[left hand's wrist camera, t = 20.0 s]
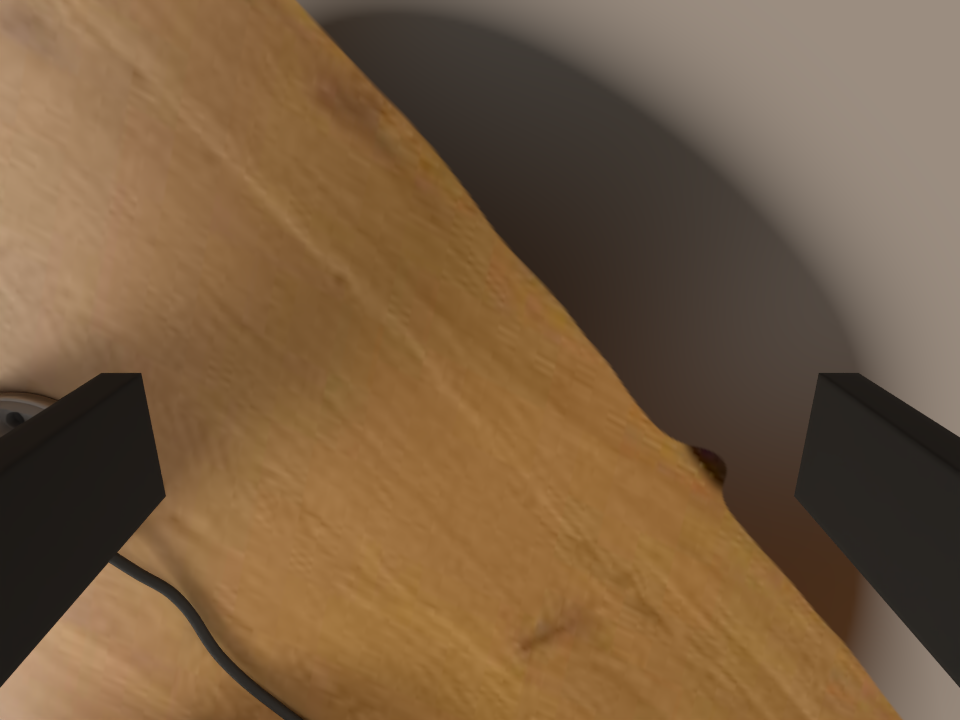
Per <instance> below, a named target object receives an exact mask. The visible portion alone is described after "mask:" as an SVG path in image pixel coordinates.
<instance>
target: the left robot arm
mask: <svg viewBox="0 0 960 720" xmlns="http://www.w3.org/2000/svg"><path fill="white" fill-rule="evenodd" d="M165 496H166V495H165V490H164V485H163V480H162V475H161V470H160V465H159V460H158V455H157V450H156V445H155V440H154V435H153V430H152V425H151V420H150V415H149V410H148V405H147V400H146V395H145V390H144V385H143V380H142V375H141V373H101V374H99V375H98V376H96V377H95V378H93V379H91V380H90V381H88V382H87V383H85V384H84V385H82V386H80V387H79V388H77V389H76V390H74V391H73V392H71V393H69V394H68V395H66V396H65V397H63V398H61V399H60V400H58V401H57V400H54V399H51V398H48V397H44V396H40V395H36V394H30V393H21V392H5V393H0V687H1V686H2V685H3V684H4V683H5V681H6V680H7V679H8V678H9V677H10V676H11V675H12V673H13V672H14V671H15V670H16V669H17V668H18V666H19V665H20V664H21V663H22V662H23V661H24V659H25V658H26V657H27V656H28V655H29V654H30V653H31V651H32V650H33V649H34V648H35V647H36V646H37V644H38V643H39V642H40V641H41V640H42V639H43V638H44V636H45V635H46V634H47V633H48V632H49V631H50V629H51V628H52V627H53V626H54V625H55V624H56V622H57V621H58V620H59V619H60V618H61V617H62V616H63V614H64V613H65V612H66V611H67V610H68V609H69V607H70V606H71V605H72V604H73V603H74V602H75V601H76V599H77V598H78V597H79V596H80V595H81V594H82V592H83V591H84V590H85V589H86V588H87V587H88V585H89V584H90V583H91V582H92V581H93V580H94V579H95V577H96V576H97V575H98V574H99V573H100V572H101V570H102V569H103V568H104V567H105V566H106V565H107V564H108V562H109V563H111V564H112V565H114V566H115V567H117V568H119V569H120V570H122V571H123V572H125V573H126V574H128V575H130V576H131V577H133V578H135V579H136V580H138V581H140V582H142V583H143V584H145V585H147V586H149V587H151V588H153V589H155V590H157V591H158V592H160V593H162V594H163V595H164V596H166V597H167V598H168V599H169V600H171V601H172V602H173V603H174V604H175V605H176V606H177V607H178V608H179V609H180V611H181V612H182V613H183V614H184V615H185V617H186V618H187V619H188V621H189V622H190V624H191V625H192V627H193V628H194V630H195V632H196V633H197V635H198V637H199V638H200V640H201V641H202V643H203V644H204V646H205V647H206V649H207V650H208V651H209V653H210V654H211V655H212V657H213V658H214V659H215V660H216V661H217V663H218V664H219V665H220V666H221V667H222V668H223V669H224V670H225V671H226V672H227V673H228V674H229V675H230V676H231V677H232V678H233V679H234V680H235V681H237V682H238V683H239V684H240V685H241V686H242V687H243V688H244V689H246V690H247V691H248V692H249V693H250V694H252V695H253V696H254V697H255V698H257V699H258V700H259V701H261V702H262V703H263V704H265V705H266V706H267V707H268V708H270V709H271V710H272V711H274V712H275V713H276V714H278V715H279V716H280V717H282V718H283V719H284V720H303V719H302V718H300V717H299V716H298V715H296V714H295V713H294V712H292V711H291V710H290V709H288V708H287V707H286V706H285V705H283V704H282V703H281V702H279V701H278V700H277V699H275V698H274V697H273V696H272V695H270V694H269V693H268V692H266V691H265V690H264V689H263V688H261V687H260V686H259V685H258V684H256V683H255V682H254V681H253V680H252V679H250V678H249V677H248V676H247V675H246V674H245V673H244V672H243V671H242V670H241V669H239V668H238V667H237V666H236V665H235V664H234V663H233V662H232V661H231V660H230V659H229V657H228V656H227V655H226V654H225V653H224V652H223V651H222V650H221V648H220V647H219V646H218V644H217V643H216V642H215V640H214V639H213V637H212V635H211V634H210V632H209V631H208V629H207V627H206V626H205V624H204V622H203V621H202V619H201V618H200V616H199V615H198V613H197V612H196V610H195V609H194V608H193V607H192V605H191V604H190V603H189V602H188V601H187V600H186V598H185V597H184V596H183V595H182V594H181V593H180V592H179V591H177V590H176V589H175V588H174V587H173V586H171V585H170V584H168V583H167V582H165V581H163V580H162V579H160V578H158V577H156V576H154V575H152V574H151V573H149V572H147V571H145V570H143V569H142V568H140V567H139V566H137V565H135V564H134V563H132V562H131V561H129V560H128V559H126V558H125V557H123V556H121V555H120V554H118V553H117V552H118V551H119V550H120V548H121V547H122V546H123V545H124V544H125V543H126V542H127V540H128V539H129V538H130V537H131V536H132V535H133V533H134V532H135V531H136V530H137V529H138V528H139V527H140V525H141V524H142V523H143V522H144V521H145V520H146V518H147V517H148V516H149V515H150V514H151V513H152V511H153V510H154V509H155V508H156V507H157V506H158V505H159V503H160V502H161V501H162V500H163V499H164V498H165ZM794 496H795V498H796V499H797V500H798V501H799V502H800V503H801V504H802V506H803V507H804V508H805V509H806V510H807V511H808V513H809V514H810V515H811V516H812V517H813V518H814V519H815V521H816V522H817V523H818V524H819V525H820V527H821V528H822V529H823V530H824V531H825V532H826V533H827V534H828V536H829V537H830V538H831V539H832V540H833V542H834V543H835V544H836V545H837V546H838V547H839V548H840V550H841V551H842V552H843V553H844V554H845V555H846V557H847V558H848V559H849V560H850V561H851V562H852V563H853V565H854V566H855V567H856V568H857V569H858V570H859V572H860V573H861V574H862V575H863V576H864V577H865V579H866V580H867V581H868V582H869V583H870V584H871V585H872V587H873V588H874V589H875V590H876V591H877V592H878V593H879V595H880V596H881V597H882V598H883V599H884V601H885V602H886V603H887V604H888V605H889V606H890V607H891V609H892V610H893V611H894V612H895V613H896V614H897V615H898V617H899V618H900V619H901V620H902V621H903V622H904V624H905V625H906V626H907V627H908V628H909V629H910V631H911V632H912V633H913V634H914V635H915V636H916V637H917V639H918V640H919V641H920V642H921V643H922V644H923V646H924V647H925V648H926V649H927V650H928V651H929V652H930V654H931V655H932V656H933V657H934V658H935V659H936V661H937V662H938V663H939V664H940V665H941V666H942V668H943V669H944V670H945V671H946V672H947V673H948V674H949V676H950V677H951V678H952V679H953V680H954V681H955V683H956V684H957V685H958V686H959V687H960V437H958V436H957V435H955V434H954V433H952V432H950V431H949V430H947V429H946V428H944V427H943V426H941V425H939V424H938V423H936V422H935V421H933V420H932V419H930V418H928V417H927V416H925V415H924V414H922V413H921V412H919V411H917V410H916V409H914V408H913V407H911V406H909V405H908V404H906V403H905V402H903V401H902V400H900V399H898V398H897V397H895V396H894V395H892V394H891V393H889V392H887V391H886V390H884V389H883V388H881V387H880V386H878V385H876V384H875V383H873V382H872V381H870V380H869V379H867V378H865V377H864V376H862V375H861V374H859V373H819V375H818V380H817V385H816V390H815V395H814V400H813V405H812V410H811V415H810V420H809V425H808V430H807V435H806V440H805V445H804V450H803V455H802V460H801V465H800V470H799V475H798V480H797V485H796V490H795V495H794Z"/></svg>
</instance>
